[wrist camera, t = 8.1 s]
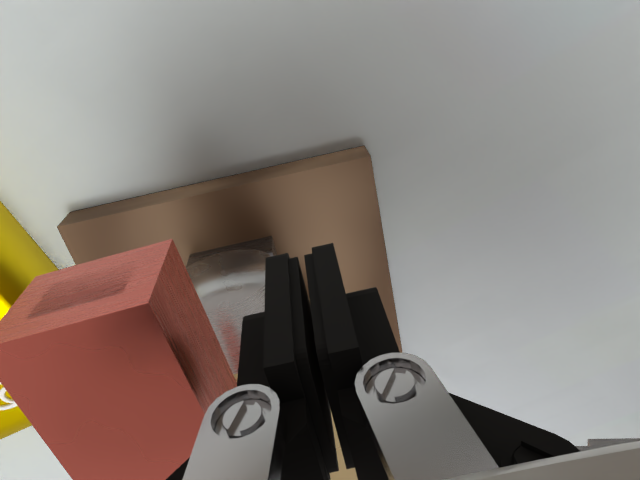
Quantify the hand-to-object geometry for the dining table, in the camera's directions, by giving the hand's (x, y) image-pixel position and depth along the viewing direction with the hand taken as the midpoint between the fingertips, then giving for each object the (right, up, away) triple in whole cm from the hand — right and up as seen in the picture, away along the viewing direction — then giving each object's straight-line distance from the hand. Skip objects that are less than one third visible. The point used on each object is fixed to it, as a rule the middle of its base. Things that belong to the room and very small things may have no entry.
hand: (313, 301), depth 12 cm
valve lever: (-3, -5, +1) cm, 6 cm away
